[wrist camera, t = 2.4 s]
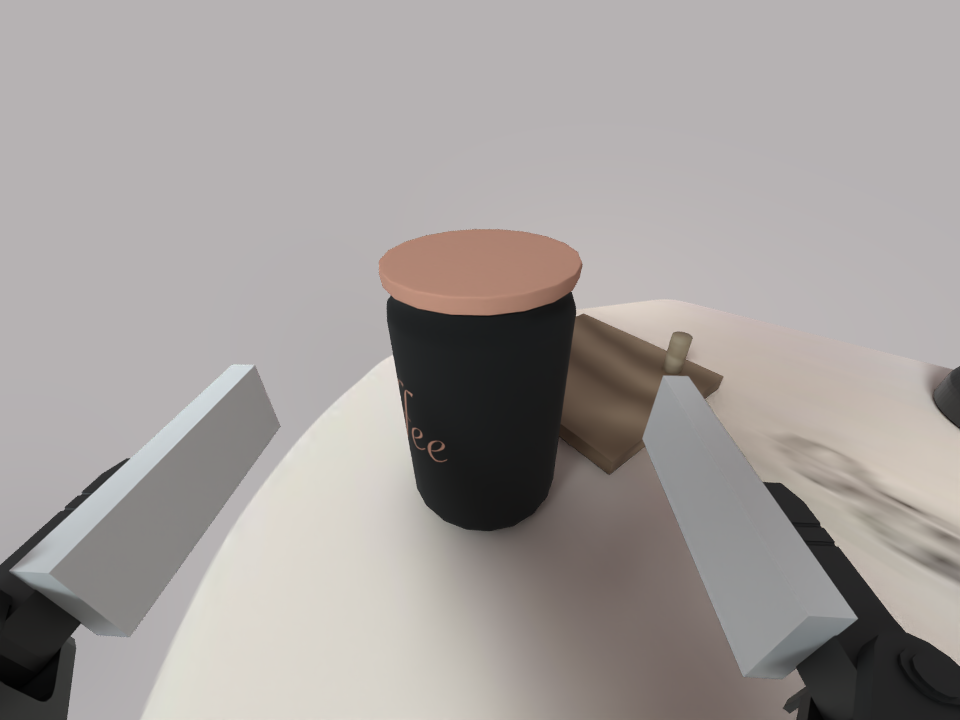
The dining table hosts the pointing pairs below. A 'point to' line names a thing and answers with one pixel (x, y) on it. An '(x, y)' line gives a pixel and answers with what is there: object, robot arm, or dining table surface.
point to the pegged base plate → (619, 389)
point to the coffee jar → (482, 366)
